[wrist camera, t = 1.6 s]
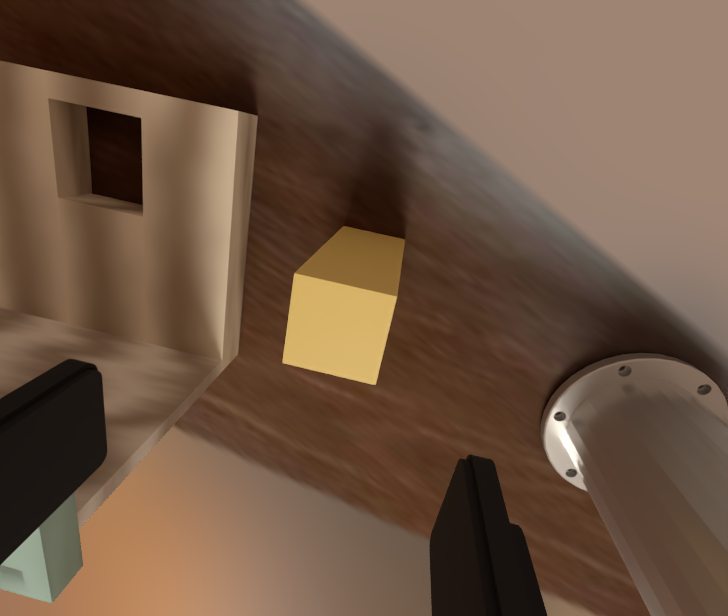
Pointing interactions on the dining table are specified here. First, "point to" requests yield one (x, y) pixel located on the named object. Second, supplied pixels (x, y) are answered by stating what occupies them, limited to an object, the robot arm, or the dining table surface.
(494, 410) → the dining table surface
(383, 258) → the peg
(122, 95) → the green-topped stand
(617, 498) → the robot arm
